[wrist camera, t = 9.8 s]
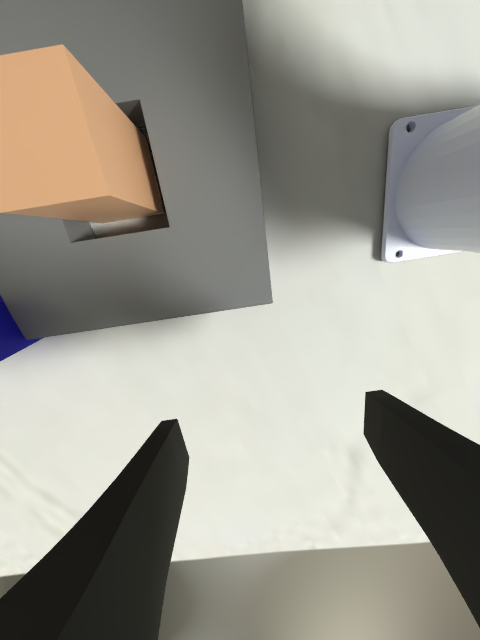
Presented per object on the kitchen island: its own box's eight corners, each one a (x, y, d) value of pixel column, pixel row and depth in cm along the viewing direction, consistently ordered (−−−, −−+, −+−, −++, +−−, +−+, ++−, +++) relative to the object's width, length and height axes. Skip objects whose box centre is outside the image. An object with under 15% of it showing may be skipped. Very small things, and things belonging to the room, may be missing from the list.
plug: (146, 138, 13) (62, 43, 7) (164, 213, 15) (108, 195, 8) (79, 149, 13) (-68, 67, 7) (103, 223, 15) (-1, 212, 8)
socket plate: (232, -25, 11) (232, -94, 9) (267, 293, 17) (272, 303, 14) (-83, 32, 12) (-163, -19, 9) (52, 325, 17) (23, 340, 15)
